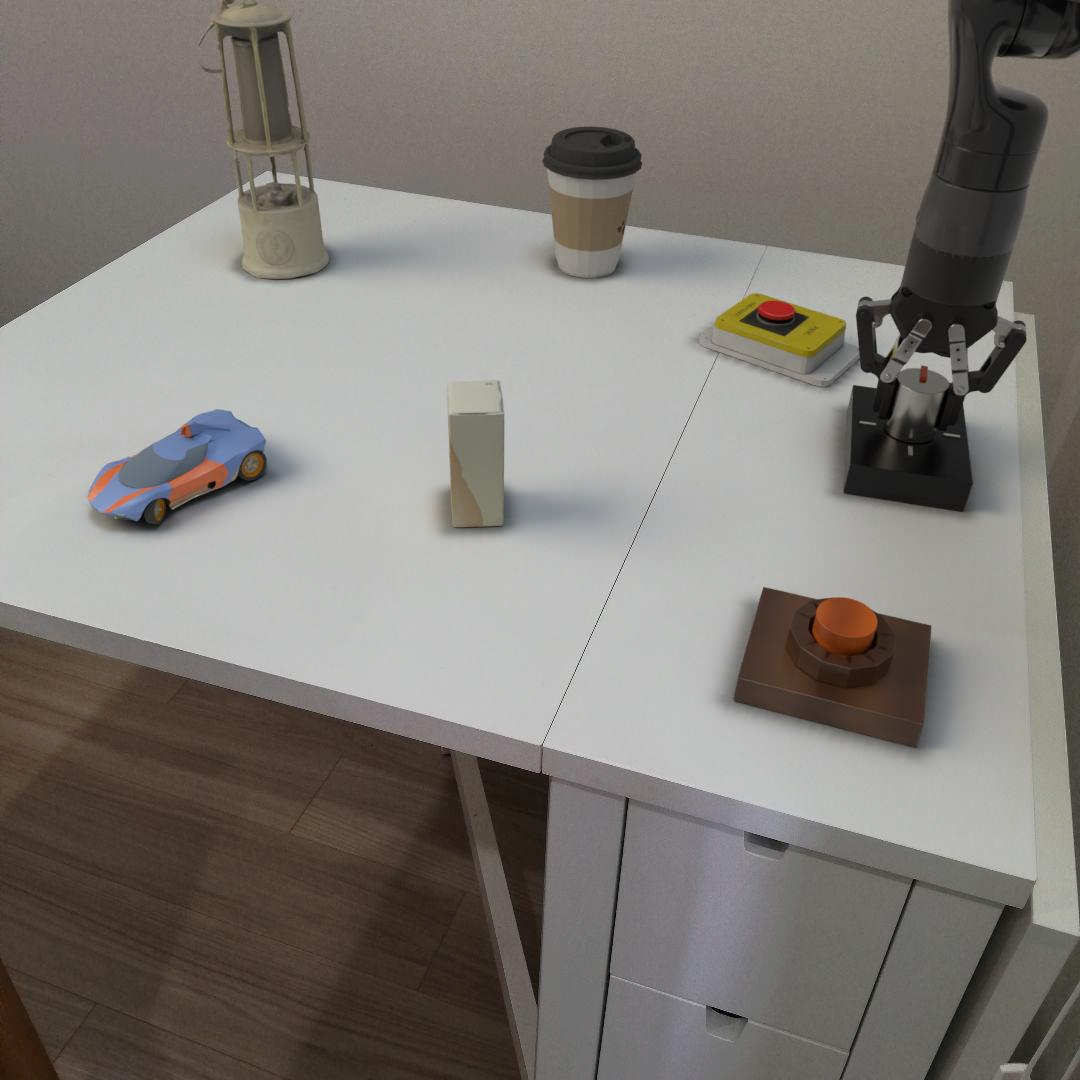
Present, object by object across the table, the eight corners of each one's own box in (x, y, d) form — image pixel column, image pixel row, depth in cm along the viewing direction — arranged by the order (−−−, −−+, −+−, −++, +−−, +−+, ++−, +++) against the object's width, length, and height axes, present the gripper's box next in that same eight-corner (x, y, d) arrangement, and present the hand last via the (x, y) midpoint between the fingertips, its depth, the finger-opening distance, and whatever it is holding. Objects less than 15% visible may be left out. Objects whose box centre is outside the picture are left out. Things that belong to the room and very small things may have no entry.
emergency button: (743, 276, 115) (872, 316, 108) (738, 313, 118) (863, 354, 111) (700, 305, 110) (833, 349, 103) (695, 343, 112) (825, 389, 105)
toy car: (73, 504, 88) (57, 450, 84) (226, 434, 96) (216, 382, 93) (126, 546, 83) (110, 491, 80) (281, 468, 92) (272, 416, 89)
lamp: (284, 287, 121) (244, -1, 102) (208, 258, 127) (157, -19, 108) (347, 258, 128) (320, -18, 109) (272, 232, 133) (234, -34, 115)
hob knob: (934, 447, 92) (950, 394, 88) (882, 438, 93) (896, 385, 89) (935, 421, 95) (950, 369, 92) (885, 413, 96) (898, 361, 93)
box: (450, 492, 90) (446, 378, 83) (501, 490, 90) (500, 376, 84) (452, 530, 86) (447, 413, 79) (505, 528, 86) (505, 411, 79)
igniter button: (874, 624, 73) (880, 605, 72) (869, 662, 70) (874, 643, 69) (816, 610, 74) (820, 591, 73) (808, 647, 71) (812, 628, 70)
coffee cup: (637, 287, 123) (647, 157, 114) (539, 284, 123) (542, 154, 114) (631, 247, 132) (640, 124, 123) (540, 245, 132) (543, 122, 123)
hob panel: (963, 511, 89) (973, 481, 87) (843, 493, 91) (850, 462, 89) (954, 427, 100) (963, 398, 98) (846, 411, 102) (853, 383, 100)
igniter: (924, 647, 76) (938, 606, 74) (915, 748, 69) (930, 705, 66) (758, 608, 79) (767, 567, 77) (733, 700, 72) (741, 658, 69)
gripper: (867, 238, 82) (825, 426, 92) (1064, 265, 78) (997, 458, 89) (874, 204, 87) (834, 386, 98) (1059, 229, 84) (996, 414, 94)
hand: (912, 419), depth 93 cm, fingers closed on hob knob, 4 cm apart
